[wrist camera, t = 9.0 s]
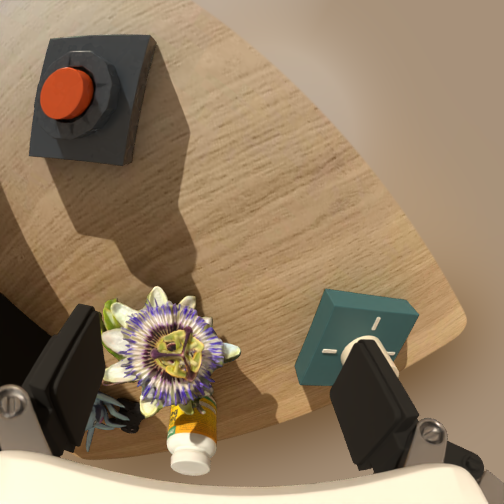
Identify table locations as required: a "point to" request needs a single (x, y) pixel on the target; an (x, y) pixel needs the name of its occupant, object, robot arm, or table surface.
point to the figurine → (124, 419)
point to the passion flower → (163, 351)
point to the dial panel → (350, 331)
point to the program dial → (349, 346)
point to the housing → (96, 98)
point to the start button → (66, 93)
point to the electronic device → (18, 344)
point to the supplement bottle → (193, 438)
